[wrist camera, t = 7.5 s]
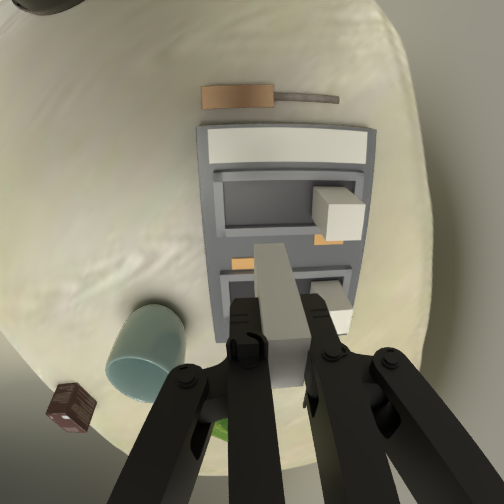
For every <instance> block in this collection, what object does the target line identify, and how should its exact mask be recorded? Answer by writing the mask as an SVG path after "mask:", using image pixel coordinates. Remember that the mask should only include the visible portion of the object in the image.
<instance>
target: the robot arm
mask: <svg viewBox="0 0 504 504" xmlns="http://www.w3.org/2000/svg"><path fill="white" fill-rule="evenodd" d="M82 1H84V0H12V2H13V3H14V4H15V5H16V6H17V7H18V8H19V9H21V10H23V11H26V12H29V13H33V14H37V15H50V14H55V13H58V12H61V11H64V10H67V9H69V8H71V7H73V6H75V5H77V4H79V3H80V2H82ZM254 290H255V297H252V298H235V299H234V300H233V302H232V303H231V305H230V321H229V322H230V324H229V338H228V339H227V343H226V350H227V357H226V359H225V360H224V361H223V362H221V363H220V364H218V365H216V366H213V367H210V368H206V369H202V368H201V367H200V366H197V365H195V364H182V365H178V366H176V367H175V368H173V369H172V370H171V371H170V372H169V374H168V375H167V377H166V379H165V381H164V383H163V385H162V387H161V389H160V391H159V393H158V396H157V398H156V400H155V402H154V404H153V406H152V408H151V410H150V412H149V414H148V416H147V418H146V420H145V422H144V425H143V427H142V429H141V431H140V433H139V435H138V437H137V439H136V441H135V443H134V446H133V448H132V450H131V452H130V454H129V456H128V459H127V461H126V463H125V465H124V467H123V469H122V471H121V473H120V476H119V478H118V480H117V482H116V484H115V486H114V489H113V491H112V493H111V495H110V498H109V500H108V502H107V504H188V503H189V500H190V497H191V494H192V491H193V488H194V485H195V482H196V479H197V476H198V473H199V470H200V467H201V464H202V461H203V458H204V455H205V452H206V449H207V446H208V443H209V440H210V437H211V434H212V431H213V427H214V424H215V421H218V420H222V419H225V418H228V477H229V504H285V498H284V490H283V482H282V473H281V464H280V455H279V447H278V439H277V430H276V422H275V413H274V405H273V397H272V389H274V388H287V387H298V386H303V383H304V379H305V384H306V393H305V397H304V402H303V408H306V405H307V410H308V415H309V420H310V425H311V431H312V436H313V441H314V447H315V452H316V457H317V463H318V468H319V474H320V479H321V485H322V490H323V497H324V503H325V504H400V502H399V498H398V494H397V490H396V486H395V483H394V480H393V476H392V473H391V470H390V466H389V463H388V459H387V456H386V454H387V455H388V457H389V459H390V460H391V462H392V463H393V465H394V467H395V468H396V470H397V471H398V473H399V475H400V476H401V477H402V479H403V481H404V482H405V484H406V486H407V487H408V489H409V490H410V492H411V494H412V495H413V497H414V498H415V500H416V501H417V503H418V504H504V482H503V480H502V479H501V477H500V476H499V474H498V473H497V472H496V470H495V469H494V467H493V466H492V464H491V463H490V462H489V460H488V459H487V458H486V456H485V455H484V453H483V452H482V451H481V450H480V448H479V447H478V445H477V444H476V443H475V442H474V440H473V439H472V437H471V436H470V435H469V434H468V432H467V431H466V430H465V428H464V427H463V426H462V424H461V423H460V422H459V421H458V419H457V418H456V417H455V416H454V414H453V413H452V412H451V411H450V409H449V408H448V407H447V405H446V404H445V403H444V402H443V400H442V399H441V398H440V397H439V396H438V394H437V393H436V392H435V390H434V389H433V388H432V387H431V386H430V384H429V383H428V382H427V381H426V380H425V378H424V377H423V376H422V375H421V374H420V372H419V371H418V370H417V369H416V368H415V366H414V365H413V364H412V363H411V362H410V360H409V359H408V358H407V357H406V356H405V355H404V354H403V353H402V352H401V351H400V350H397V349H395V348H390V347H385V348H381V349H379V350H378V351H376V352H375V354H374V356H369V355H361V354H356V353H353V352H351V351H350V350H349V349H348V347H347V346H346V345H344V344H343V343H341V342H340V339H339V337H338V334H337V331H336V329H335V326H334V323H333V321H332V318H331V317H330V313H329V310H328V307H327V305H326V302H325V300H324V299H323V298H322V297H321V296H320V295H319V294H318V293H312V294H299V292H298V288H297V285H296V282H295V278H294V275H293V271H292V268H291V265H290V261H289V258H288V255H287V252H286V248H285V245H284V243H269V244H254ZM385 452H386V453H385Z"/></svg>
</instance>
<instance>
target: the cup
mask: <svg viewBox="0 0 504 504" xmlns="http://www.w3.org/2000/svg"><path fill="white" fill-rule="evenodd" d="M185 353H186V334H185V329H184V326H183V324H182V322H181V320H180V318H179V317H178V316H177V315H176V314H175V313H174V312H173V311H172V310H171V309H169V308H167V307H165V306H163V305H158V304H150V305H145V306H142V307H140V308H138V309H137V310H135V311H134V312H133V313H132V314H131V315H130V316H129V317H128V319H127V320H126V321H125V323H124V325H123V326H122V328H121V330H120V332H119V334H118V336H117V338H116V340H115V343H114V345H113V347H112V350H111V352H110V355H109V357H108V360H107V363H106V369H105V371H106V375H107V377H108V379H109V381H110V382H111V384H112V385H113V386H114V387H115V388H116V389H118V390H119V391H120V392H121V393H123V394H124V395H126V396H128V397H130V398H132V399H134V400H137V401H141V402H145V403H154V402H155V400H156V398H157V396H158V393H159V391H160V389H161V387H162V385H163V383H164V381H165V379H166V377H167V375H168V374H169V372H170V371H171V370H172V369H173V368H175V367H176V366H178V365H182V364H184V362H185Z"/></svg>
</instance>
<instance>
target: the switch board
mask: <svg viewBox="0 0 504 504" xmlns="http://www.w3.org/2000/svg"><path fill="white" fill-rule="evenodd" d="M196 137H197V154H198V170H199V184H200V197H201V210H202V222H203V233H204V244H205V254H206V264H207V273H208V282H209V291H210V300H211V308H212V316H213V324H214V332H215V340H216V343H227V339H228V338H229V324H230V322H229V321H230V305H231V303H232V302H233V300H234V299H235V298H252V297H255V290H254V244H269V243H284V245H285V248H286V252H287V255H288V258H289V261H290V265H291V268H292V271H293V275H294V278H295V282H296V285H297V288H298V292H299V294H310V289H311V282H316V281H333V280H339V282H340V284H341V286H342V288H343V290H344V291H345V293H346V295H347V297H348V299H349V301H350V303H351V305H352V307H353V305H354V300H355V295H356V290H357V285H358V280H359V274H360V269H361V263H362V257H363V251H364V245H365V239H366V232H367V225H368V218H369V210H370V202H371V193H372V183H373V173H374V161H375V148H376V130H375V129H371V128H365V127H355V126H343V125H328V124H307V123H233V124H213V125H199V126H197V127H196ZM313 186H323V187H346V188H347V189H348V190H349V191H350V192H352V193H353V194H354V195H355V196H356V197H358V198H359V199H360V200H361V201H362V202H363V203H364V204H366V206H365V214H364V222H363V229H362V236H361V240H348V241H325V239H324V237H323V236H322V234H321V232H320V231H319V229H318V228H317V226H316V224H315V223H314V221H313V219H312V202H313ZM339 335H347V333H345V334H338V336H339Z"/></svg>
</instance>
